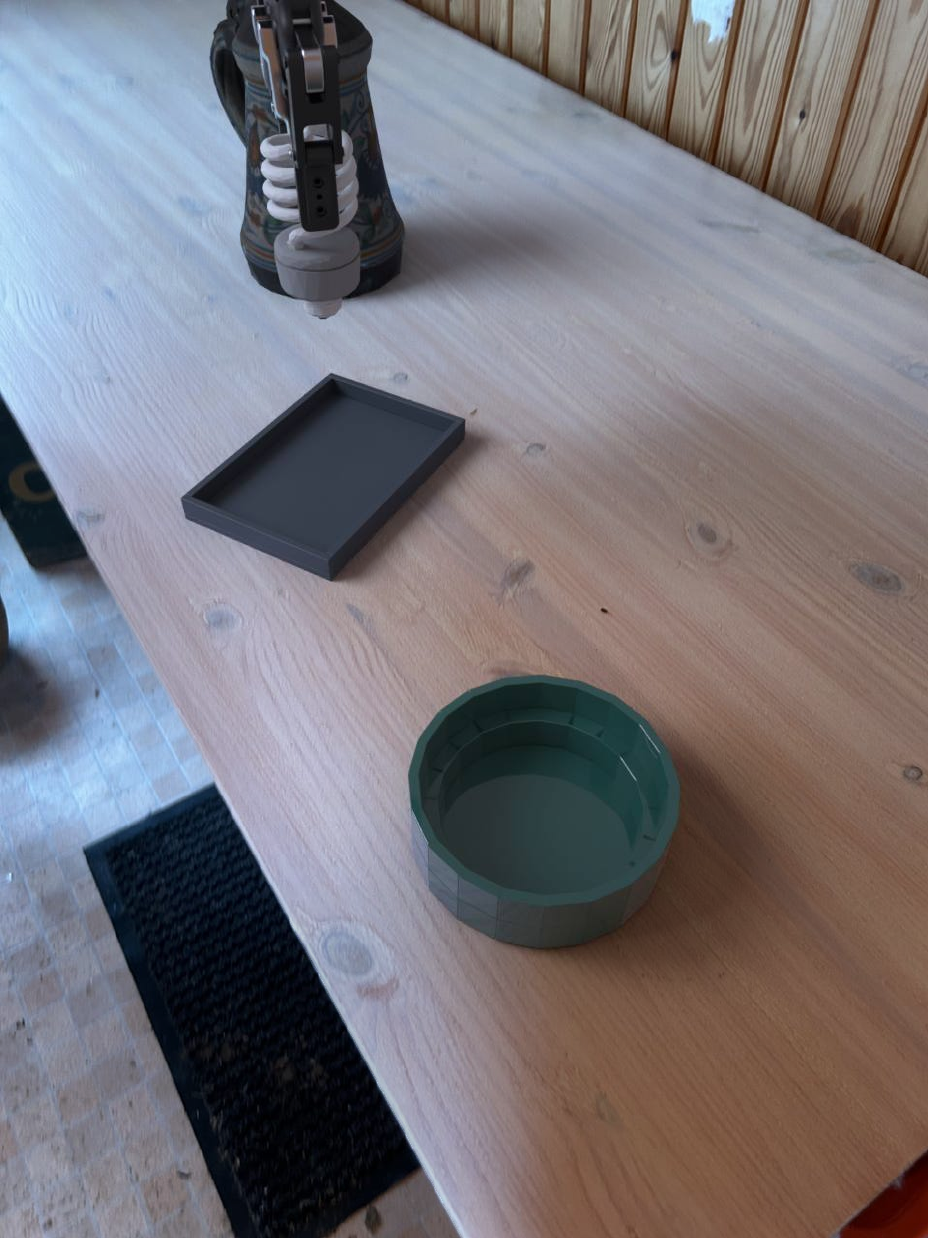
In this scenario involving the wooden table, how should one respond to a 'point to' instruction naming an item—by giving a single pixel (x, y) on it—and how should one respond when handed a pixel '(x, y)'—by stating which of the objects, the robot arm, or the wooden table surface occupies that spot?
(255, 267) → the beer stein
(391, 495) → the tray
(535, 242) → the wooden table surface
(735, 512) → the wooden table surface
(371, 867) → the wooden table surface
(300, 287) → the light bulb
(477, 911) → the bowl
